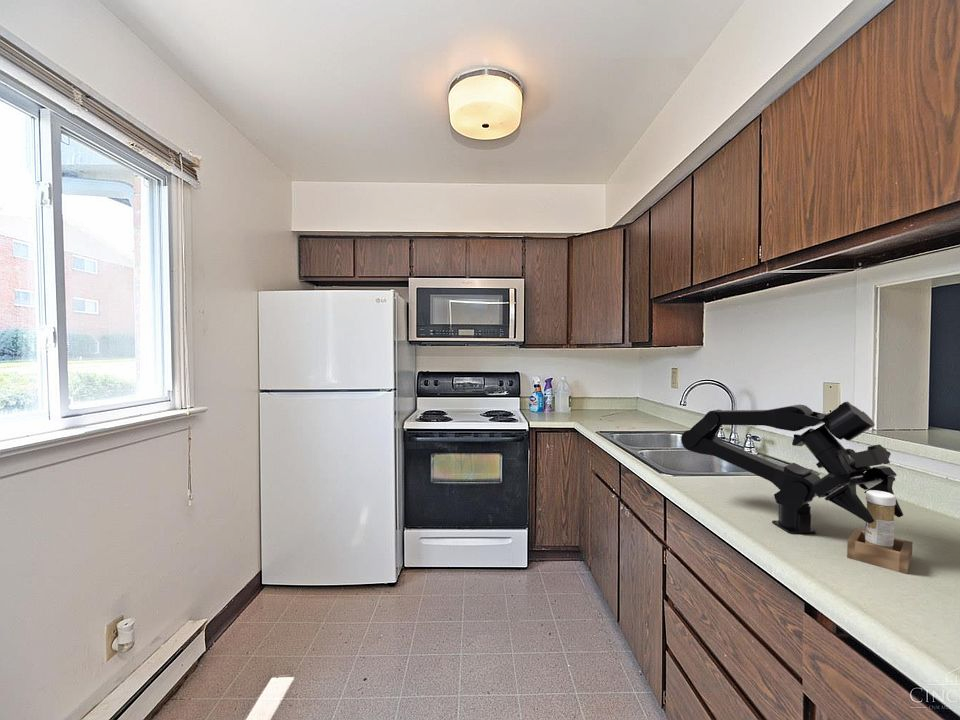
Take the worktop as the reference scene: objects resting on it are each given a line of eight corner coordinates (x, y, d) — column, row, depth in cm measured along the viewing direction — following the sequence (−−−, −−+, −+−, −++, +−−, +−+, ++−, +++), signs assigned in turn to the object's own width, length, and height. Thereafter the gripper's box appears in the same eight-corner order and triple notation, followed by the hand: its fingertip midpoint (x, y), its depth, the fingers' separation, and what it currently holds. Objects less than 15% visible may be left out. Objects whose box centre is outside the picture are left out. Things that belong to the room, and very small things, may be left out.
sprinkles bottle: (860, 551, 95) (862, 488, 94) (887, 555, 93) (890, 490, 92) (869, 560, 90) (871, 494, 90) (898, 565, 89) (900, 498, 88)
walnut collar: (847, 557, 92) (847, 540, 92) (855, 544, 98) (855, 528, 98) (907, 574, 85) (908, 555, 85) (912, 559, 91) (912, 542, 91)
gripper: (829, 434, 92) (892, 506, 82) (886, 429, 98) (952, 495, 88) (790, 463, 99) (843, 532, 89) (846, 456, 106) (902, 520, 96)
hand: (886, 519), depth 90 cm, fingers open, 9 cm apart
